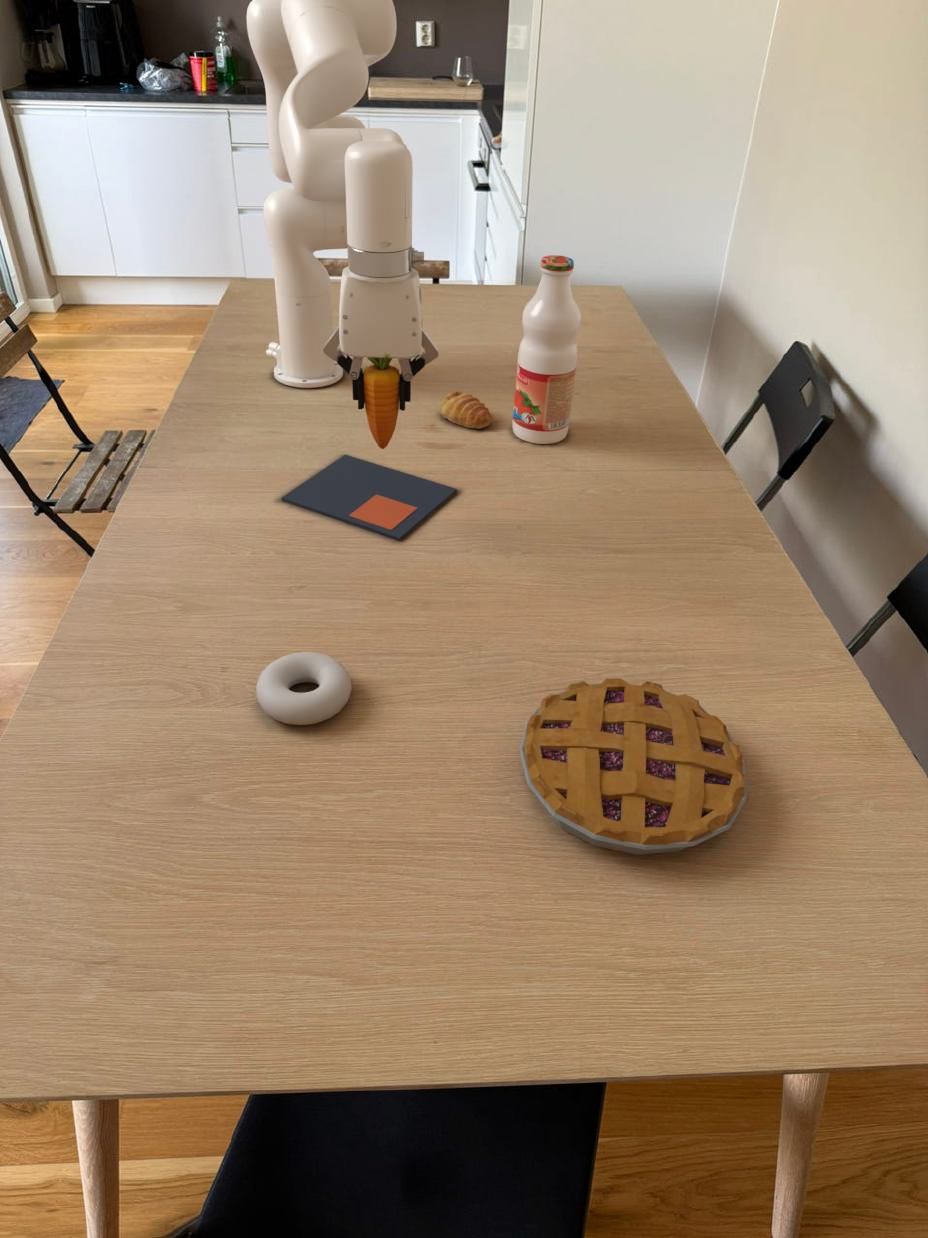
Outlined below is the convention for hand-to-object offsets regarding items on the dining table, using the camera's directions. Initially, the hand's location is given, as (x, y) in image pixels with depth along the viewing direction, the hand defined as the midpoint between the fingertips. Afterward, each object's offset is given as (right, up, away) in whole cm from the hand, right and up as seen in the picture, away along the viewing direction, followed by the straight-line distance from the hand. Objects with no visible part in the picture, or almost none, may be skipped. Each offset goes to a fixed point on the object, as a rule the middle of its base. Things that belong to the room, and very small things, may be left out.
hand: (382, 404), depth 116 cm
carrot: (0, -5, +4) cm, 7 cm away
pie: (+27, -44, -28) cm, 58 cm away
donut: (-6, -37, -20) cm, 42 cm away
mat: (-3, -10, +14) cm, 18 cm away
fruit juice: (+23, +3, +33) cm, 41 cm away
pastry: (+11, +6, +37) cm, 39 cm away
